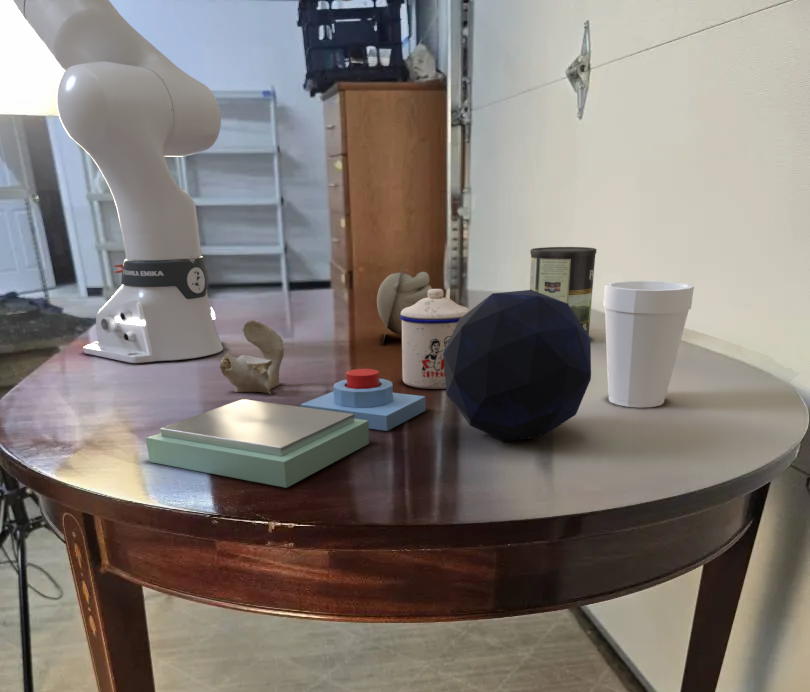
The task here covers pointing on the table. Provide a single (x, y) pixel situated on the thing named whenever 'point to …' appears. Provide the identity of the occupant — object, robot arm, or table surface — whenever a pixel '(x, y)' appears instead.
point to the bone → (256, 361)
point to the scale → (259, 441)
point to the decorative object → (400, 297)
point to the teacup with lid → (428, 339)
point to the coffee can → (565, 277)
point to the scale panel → (371, 404)
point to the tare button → (362, 378)
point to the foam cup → (643, 338)
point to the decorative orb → (518, 365)
